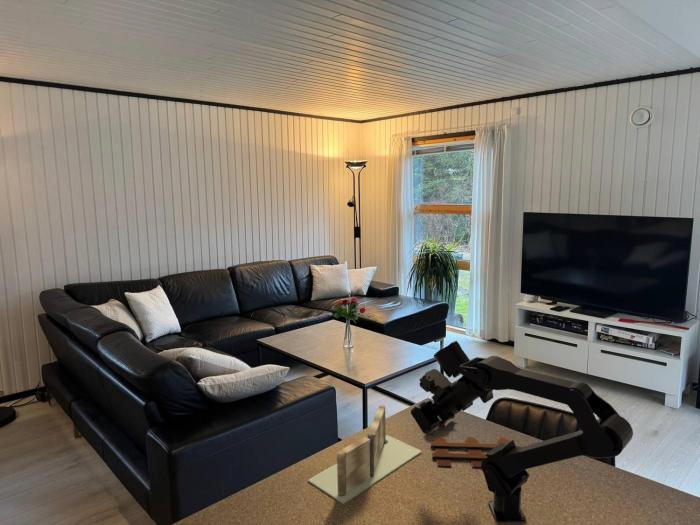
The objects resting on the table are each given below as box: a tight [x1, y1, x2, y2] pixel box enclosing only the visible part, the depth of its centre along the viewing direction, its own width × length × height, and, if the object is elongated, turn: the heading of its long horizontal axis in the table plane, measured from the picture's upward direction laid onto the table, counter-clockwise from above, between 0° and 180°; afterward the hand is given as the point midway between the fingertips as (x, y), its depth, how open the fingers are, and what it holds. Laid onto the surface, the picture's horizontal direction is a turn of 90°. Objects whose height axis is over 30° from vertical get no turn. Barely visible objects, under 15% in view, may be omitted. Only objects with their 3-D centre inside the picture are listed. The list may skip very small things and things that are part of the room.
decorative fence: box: [430, 435, 517, 470], centre depth 131 cm, size 23×2×15 cm
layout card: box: [307, 434, 423, 505], centre depth 125 cm, size 30×12×1 cm, turn 135°
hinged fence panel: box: [367, 404, 387, 471], centre depth 129 cm, size 16×2×10 cm, turn 166°
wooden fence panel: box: [336, 433, 374, 497], centre depth 116 cm, size 12×2×11 cm, turn 135°
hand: (423, 422), depth 121 cm, fingers closed
